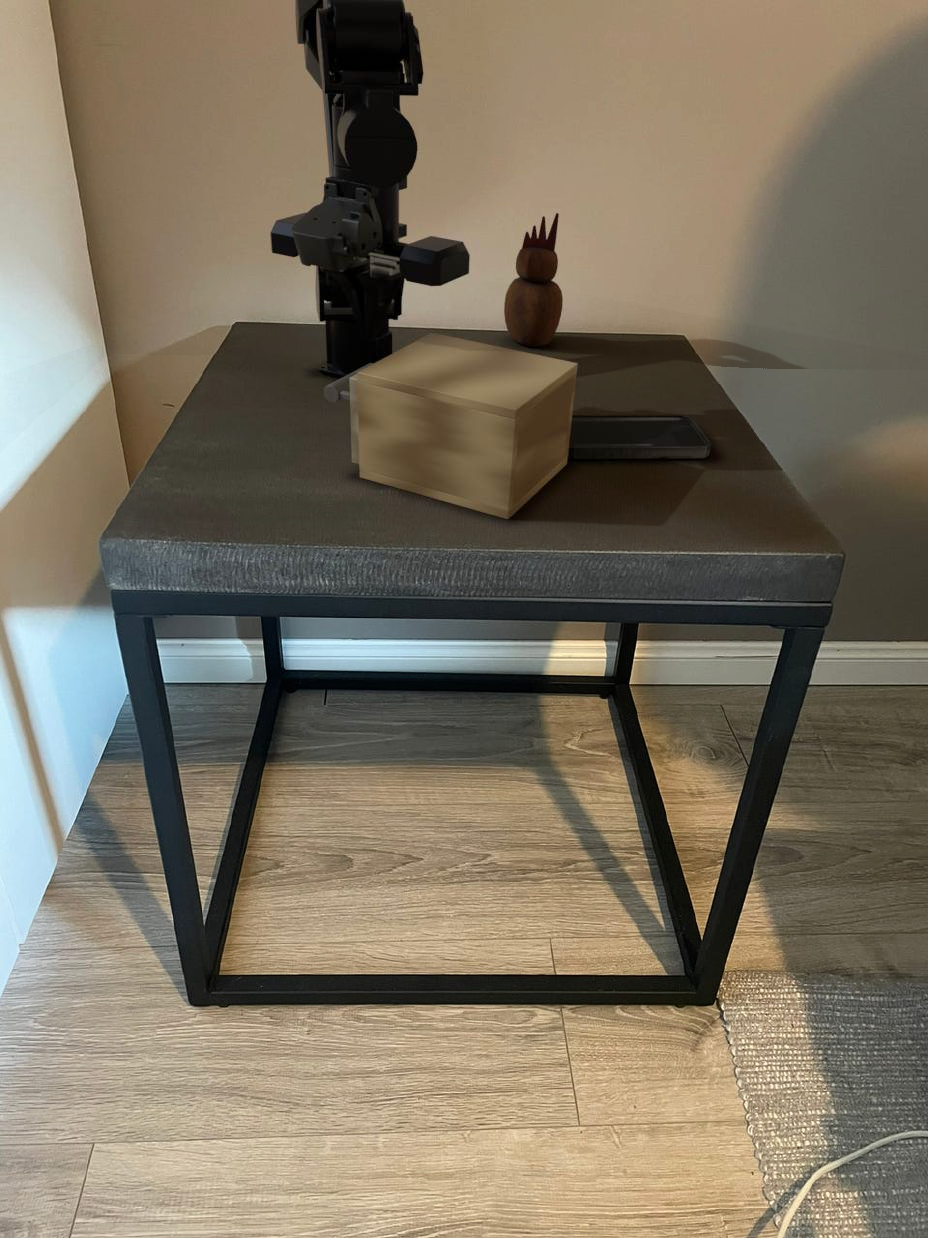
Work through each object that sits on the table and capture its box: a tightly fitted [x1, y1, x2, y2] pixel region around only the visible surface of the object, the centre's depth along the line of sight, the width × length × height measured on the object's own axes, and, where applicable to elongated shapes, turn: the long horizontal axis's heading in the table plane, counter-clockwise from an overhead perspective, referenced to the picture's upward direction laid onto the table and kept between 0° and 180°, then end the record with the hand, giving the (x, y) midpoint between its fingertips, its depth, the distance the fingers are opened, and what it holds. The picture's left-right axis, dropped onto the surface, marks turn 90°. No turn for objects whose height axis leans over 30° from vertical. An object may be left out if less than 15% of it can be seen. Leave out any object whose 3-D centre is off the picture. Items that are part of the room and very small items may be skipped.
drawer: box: [323, 363, 374, 465], centre depth 85 cm, size 18×11×8 cm, turn 62°
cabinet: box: [357, 332, 579, 520], centre depth 83 cm, size 15×13×10 cm
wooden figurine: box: [503, 212, 564, 347], centre depth 112 cm, size 7×6×15 cm
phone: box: [567, 414, 712, 460], centre depth 92 cm, size 8×1×15 cm
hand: (369, 339), depth 92 cm, fingers closed
